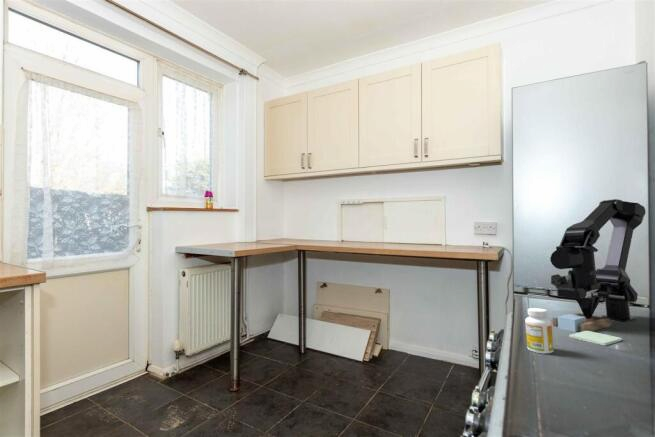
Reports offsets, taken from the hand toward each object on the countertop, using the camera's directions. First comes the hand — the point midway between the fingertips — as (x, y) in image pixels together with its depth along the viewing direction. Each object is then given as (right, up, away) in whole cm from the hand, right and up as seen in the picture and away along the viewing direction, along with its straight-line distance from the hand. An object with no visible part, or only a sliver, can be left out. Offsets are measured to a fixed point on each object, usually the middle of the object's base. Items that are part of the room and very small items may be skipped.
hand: (587, 318), depth 98 cm
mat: (-9, -1, -13) cm, 16 cm away
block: (-7, -2, -3) cm, 8 cm away
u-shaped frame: (-3, -2, -2) cm, 4 cm away
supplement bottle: (-28, -2, -20) cm, 34 cm away
